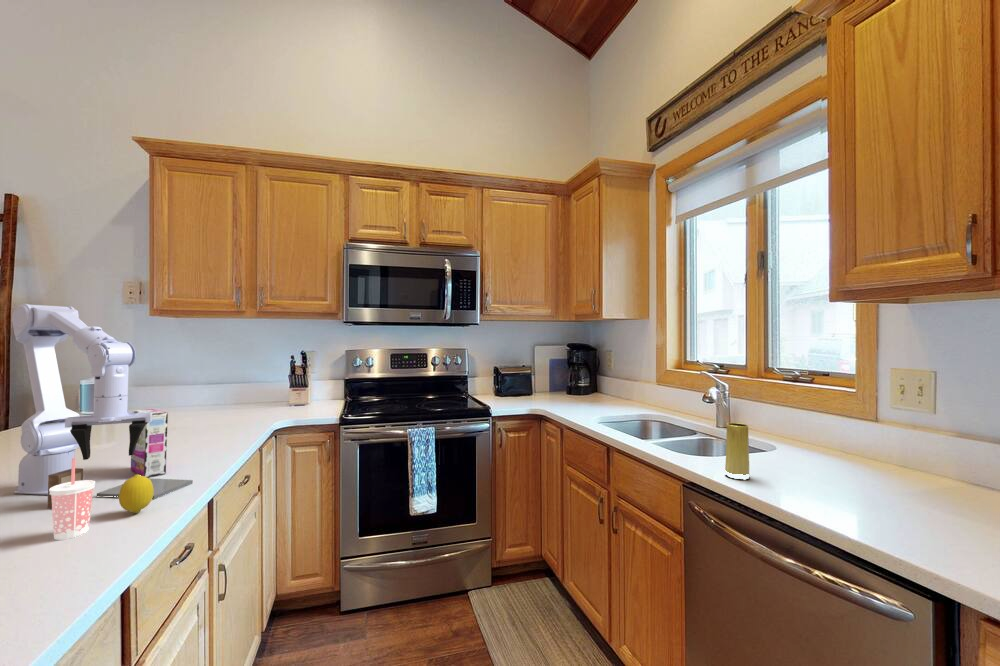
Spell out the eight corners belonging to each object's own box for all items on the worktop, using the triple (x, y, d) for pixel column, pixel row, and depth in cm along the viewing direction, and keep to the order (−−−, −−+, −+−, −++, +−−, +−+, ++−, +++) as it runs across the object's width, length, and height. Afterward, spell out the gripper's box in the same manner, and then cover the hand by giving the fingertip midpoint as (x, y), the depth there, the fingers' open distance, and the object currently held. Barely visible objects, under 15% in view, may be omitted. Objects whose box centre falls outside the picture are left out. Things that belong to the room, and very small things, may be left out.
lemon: (133, 520, 87) (134, 479, 87) (111, 517, 88) (112, 477, 88) (160, 509, 93) (160, 471, 93) (138, 507, 94) (139, 469, 94)
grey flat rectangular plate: (96, 496, 99) (96, 493, 99) (140, 481, 110) (140, 478, 110) (154, 499, 98) (154, 495, 98) (192, 483, 109) (192, 480, 109)
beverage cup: (91, 524, 85) (92, 452, 85) (97, 533, 81) (98, 457, 81) (46, 534, 80) (47, 458, 81) (50, 545, 76) (51, 464, 77)
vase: (721, 473, 123) (721, 421, 123) (744, 474, 122) (744, 422, 122) (729, 479, 117) (729, 426, 117) (754, 481, 116) (754, 427, 116)
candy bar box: (167, 473, 116) (169, 412, 117) (144, 478, 112) (145, 414, 113) (152, 466, 123) (153, 407, 123) (129, 470, 119) (130, 410, 119)
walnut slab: (47, 508, 93) (48, 475, 93) (72, 499, 98) (73, 468, 98) (58, 508, 92) (58, 475, 93) (82, 500, 97) (83, 468, 98)
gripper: (60, 400, 91) (58, 465, 91) (149, 396, 99) (147, 456, 98) (71, 395, 97) (69, 457, 97) (154, 392, 105) (152, 449, 104)
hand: (109, 456), depth 98 cm, fingers open, 7 cm apart
